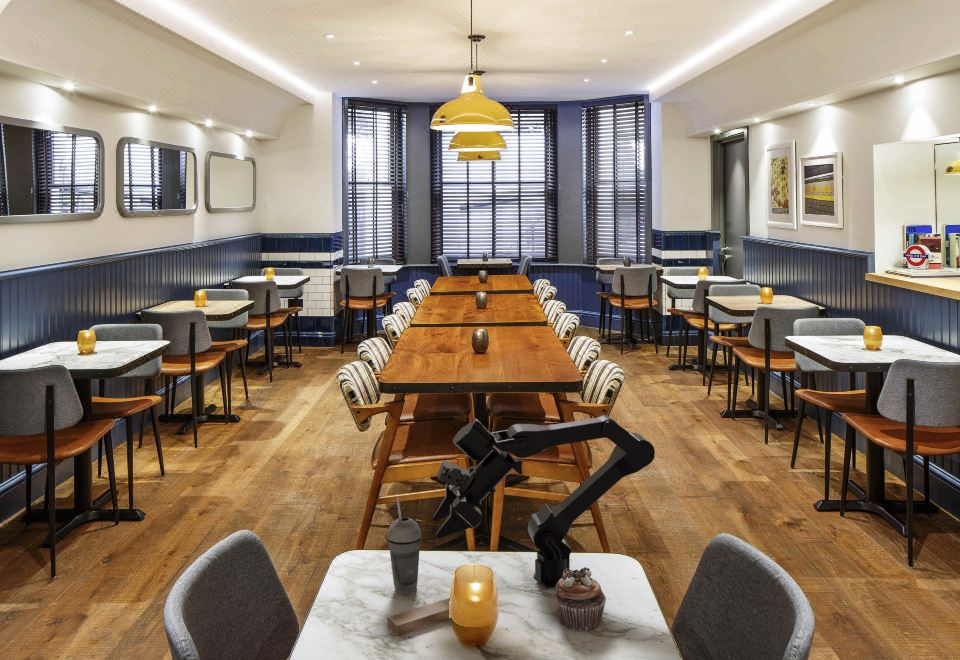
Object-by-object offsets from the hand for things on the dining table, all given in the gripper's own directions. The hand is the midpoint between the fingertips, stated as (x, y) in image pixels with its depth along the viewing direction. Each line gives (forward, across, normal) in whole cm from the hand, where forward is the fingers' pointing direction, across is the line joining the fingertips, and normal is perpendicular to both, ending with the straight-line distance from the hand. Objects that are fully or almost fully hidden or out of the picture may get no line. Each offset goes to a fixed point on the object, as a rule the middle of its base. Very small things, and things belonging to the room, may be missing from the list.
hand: (435, 528), depth 173 cm
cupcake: (-9, +18, +28) cm, 35 cm away
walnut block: (+11, +13, +8) cm, 19 cm away
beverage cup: (+14, 0, +5) cm, 15 cm away
